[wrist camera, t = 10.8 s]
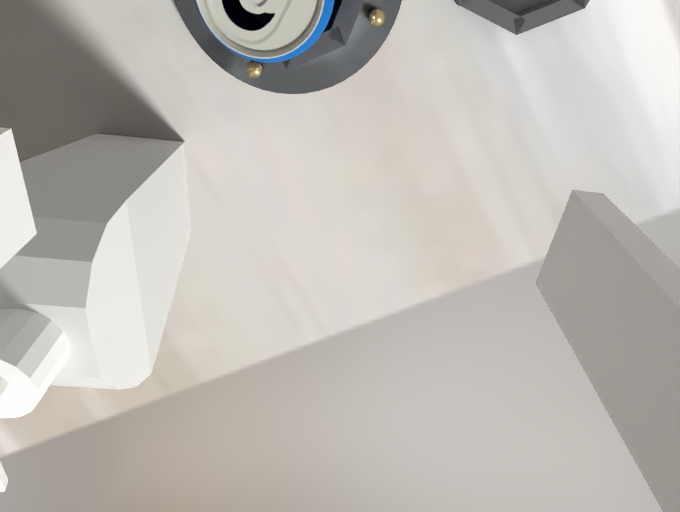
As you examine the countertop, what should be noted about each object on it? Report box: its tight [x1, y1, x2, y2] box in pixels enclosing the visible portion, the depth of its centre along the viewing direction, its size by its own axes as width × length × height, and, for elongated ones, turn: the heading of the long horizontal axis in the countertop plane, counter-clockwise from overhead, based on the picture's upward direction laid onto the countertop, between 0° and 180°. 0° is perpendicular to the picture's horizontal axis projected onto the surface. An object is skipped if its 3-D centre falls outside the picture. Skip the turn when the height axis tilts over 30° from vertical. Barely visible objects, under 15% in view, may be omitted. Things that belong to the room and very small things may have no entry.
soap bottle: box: [0, 133, 191, 492], centre depth 29 cm, size 12×10×26 cm
